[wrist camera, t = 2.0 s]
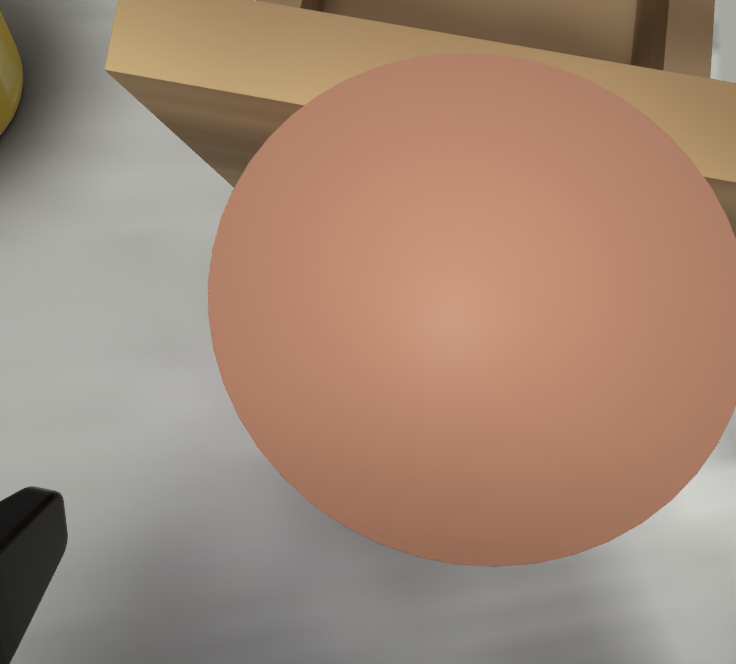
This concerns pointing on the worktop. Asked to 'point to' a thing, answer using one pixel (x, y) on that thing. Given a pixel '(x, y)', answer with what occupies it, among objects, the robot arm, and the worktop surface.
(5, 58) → the plant pot
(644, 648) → the worktop surface
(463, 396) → the post
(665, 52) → the open wooden box
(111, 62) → the brown wooden flat block
